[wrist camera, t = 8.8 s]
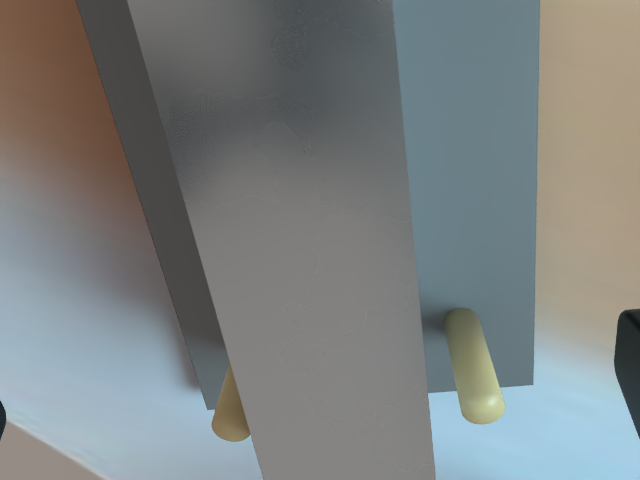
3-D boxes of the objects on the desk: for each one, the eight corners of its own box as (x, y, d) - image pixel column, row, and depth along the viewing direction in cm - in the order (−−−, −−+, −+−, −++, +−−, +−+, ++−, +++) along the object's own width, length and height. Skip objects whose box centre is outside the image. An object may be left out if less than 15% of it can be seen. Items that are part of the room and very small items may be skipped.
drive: (416, 350, 21) (440, 532, 15) (302, 360, 21) (280, 540, 15) (359, -218, 13) (361, -333, 7) (187, -183, 14) (51, -263, 8)
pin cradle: (525, 366, 22) (568, 477, 18) (213, 391, 24) (180, 500, 19) (533, -355, 13) (625, -495, 8) (17, -241, 14) (-134, -311, 10)
